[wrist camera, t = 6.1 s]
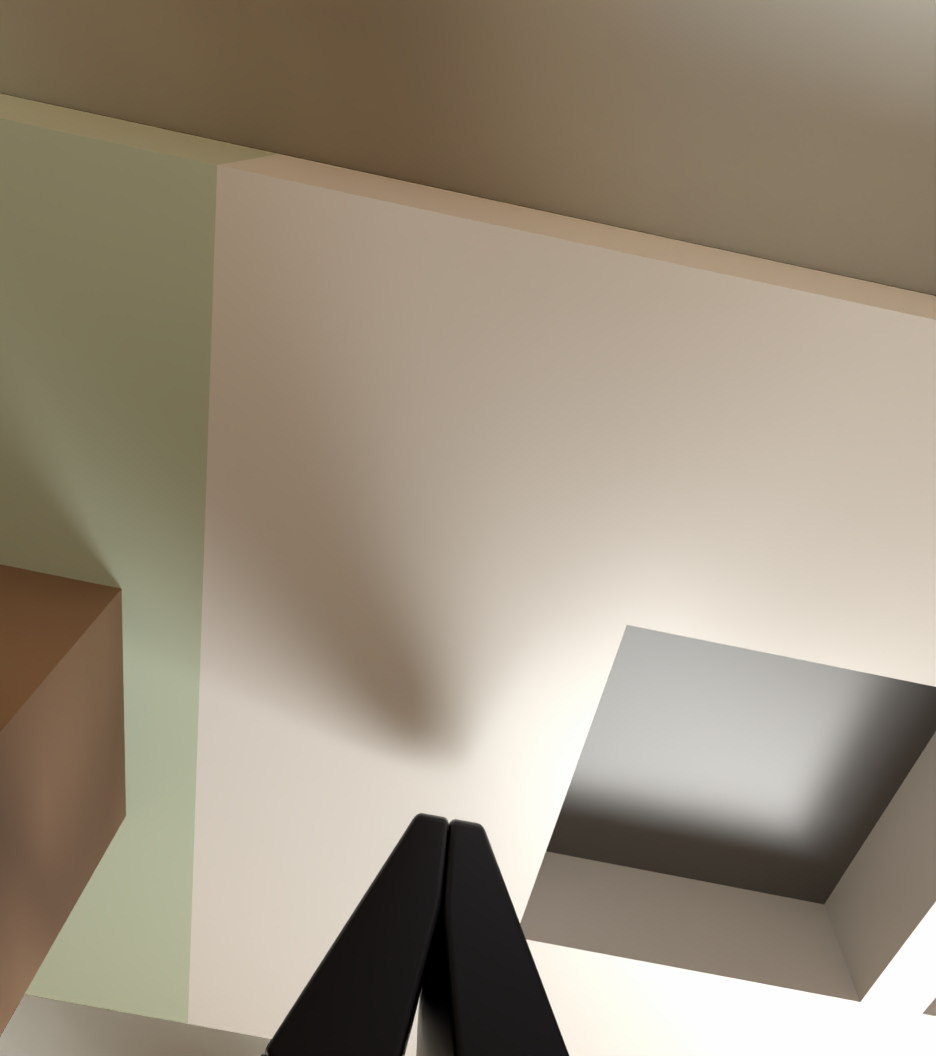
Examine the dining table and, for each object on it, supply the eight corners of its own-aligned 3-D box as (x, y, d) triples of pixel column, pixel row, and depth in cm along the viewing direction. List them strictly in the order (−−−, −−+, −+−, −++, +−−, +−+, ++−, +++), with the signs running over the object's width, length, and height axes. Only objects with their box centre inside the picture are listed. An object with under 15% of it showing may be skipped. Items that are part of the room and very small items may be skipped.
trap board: (1092, 1081, 16) (1277, 1399, 12) (-76, 863, 15) (-287, 1126, 11) (1755, 473, 9) (2646, 737, 5) (-255, 37, 9) (-910, -20, 5)
